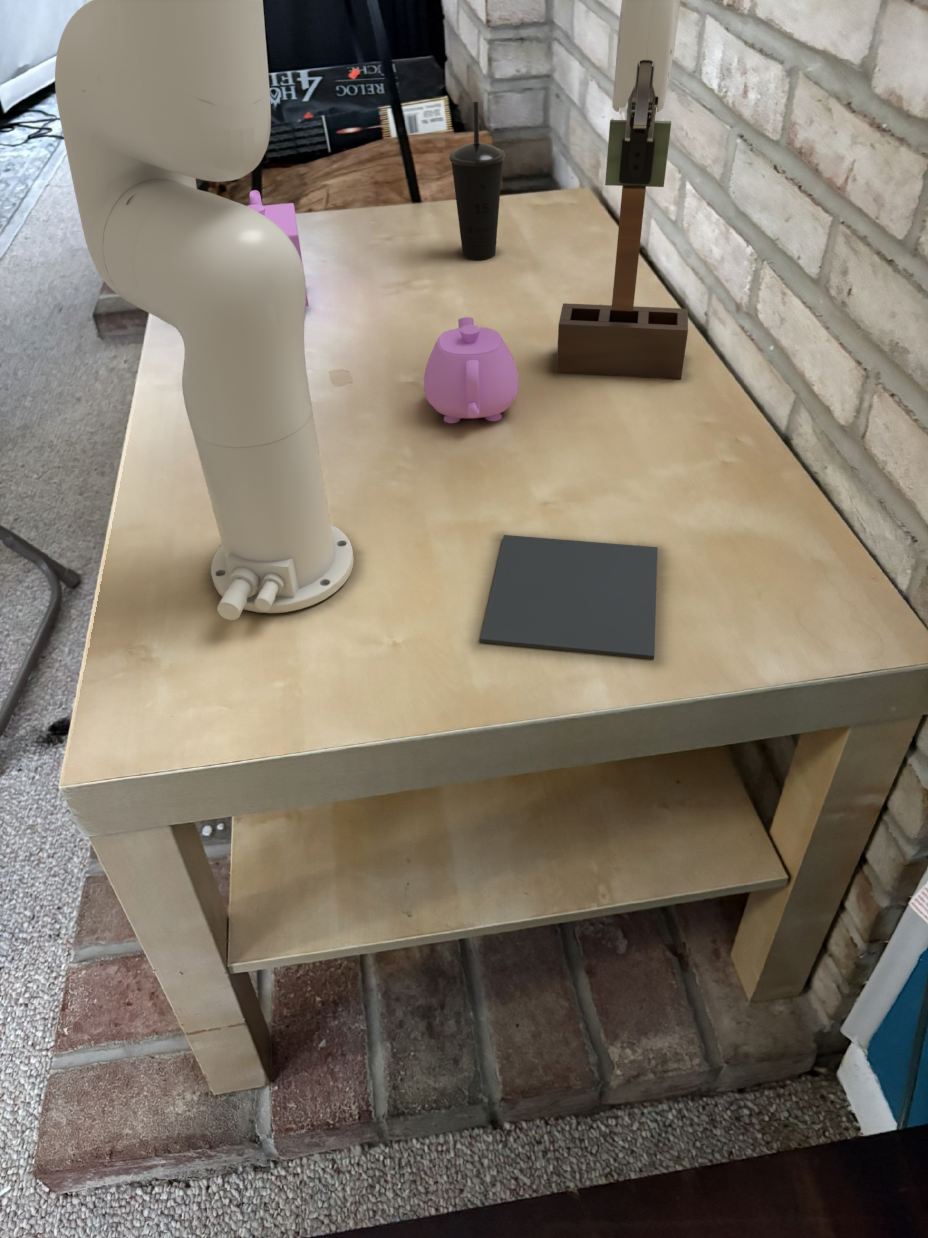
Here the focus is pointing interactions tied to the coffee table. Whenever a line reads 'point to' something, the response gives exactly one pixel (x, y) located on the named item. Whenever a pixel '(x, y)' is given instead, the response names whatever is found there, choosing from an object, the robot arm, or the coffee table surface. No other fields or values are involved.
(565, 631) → the mat
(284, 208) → the teapot
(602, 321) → the rack
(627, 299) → the spatula
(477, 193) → the drinking cup
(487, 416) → the teapot
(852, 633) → the coffee table surface
